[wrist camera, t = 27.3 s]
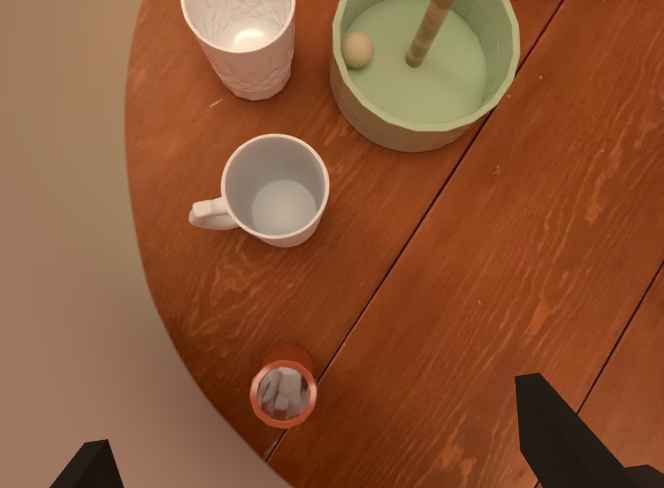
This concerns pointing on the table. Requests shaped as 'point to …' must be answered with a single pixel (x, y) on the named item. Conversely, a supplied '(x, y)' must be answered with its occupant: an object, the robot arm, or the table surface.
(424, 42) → the stick
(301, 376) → the crock
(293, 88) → the table surface
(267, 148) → the mug
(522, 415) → the robot arm
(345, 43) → the dough ball
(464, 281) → the table surface
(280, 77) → the white cup
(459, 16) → the bowl
